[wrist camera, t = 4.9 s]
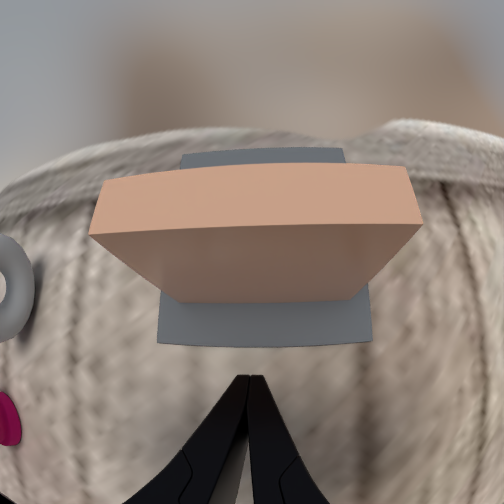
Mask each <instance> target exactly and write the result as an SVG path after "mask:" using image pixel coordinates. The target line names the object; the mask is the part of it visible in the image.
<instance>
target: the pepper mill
mask: <svg viewBox="0 0 504 504" xmlns="http://www.w3.org/2000/svg"><path fill="white" fill-rule="evenodd" d="M20 439H21V424H20V420H19V416H18V414H17V411H16V408H15V406H14V404H13V403H12V401H11V400H10V398H9V397H8V396H7V395H6V394H5V393H3V392H0V444H2V445H4V446H11V445H17V444H18V443H19V441H20Z"/></svg>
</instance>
